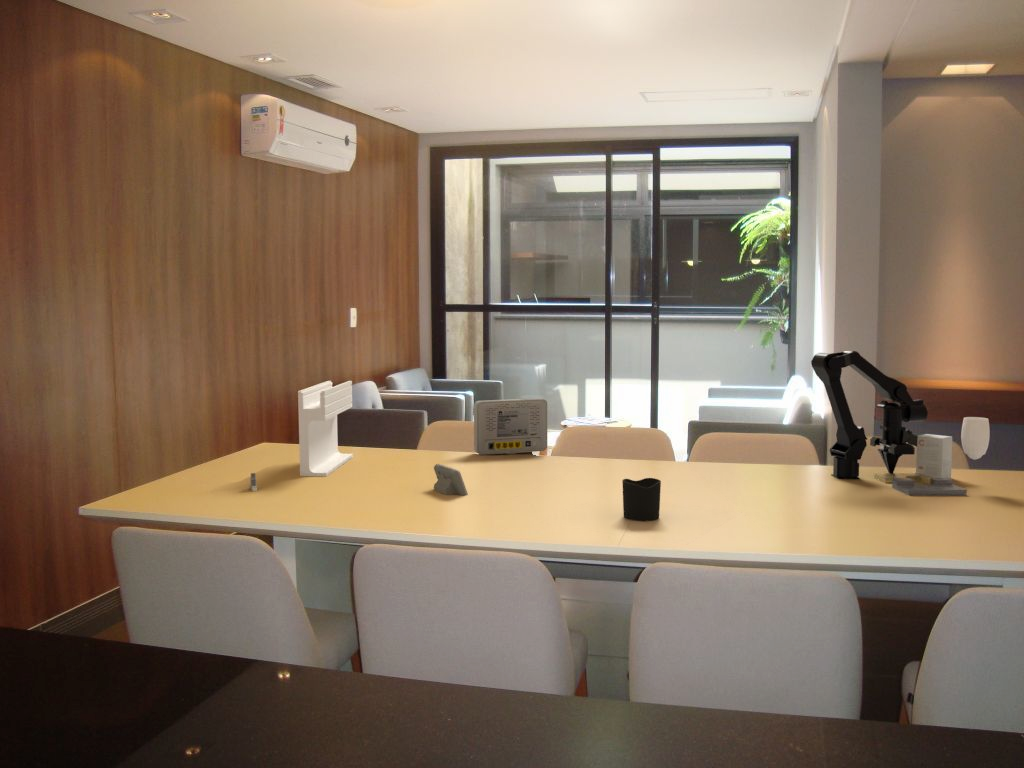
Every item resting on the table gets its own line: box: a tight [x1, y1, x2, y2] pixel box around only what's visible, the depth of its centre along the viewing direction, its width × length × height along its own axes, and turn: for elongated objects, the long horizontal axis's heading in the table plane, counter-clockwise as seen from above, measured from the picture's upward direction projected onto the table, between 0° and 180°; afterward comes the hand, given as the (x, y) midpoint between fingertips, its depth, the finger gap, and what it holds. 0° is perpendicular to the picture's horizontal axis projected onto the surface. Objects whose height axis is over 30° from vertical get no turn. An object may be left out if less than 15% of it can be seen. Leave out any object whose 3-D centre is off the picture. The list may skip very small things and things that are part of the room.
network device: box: [473, 397, 548, 456], centre depth 329 cm, size 26×9×20 cm, turn 108°
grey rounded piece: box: [960, 416, 991, 460], centre depth 268 cm, size 7×7×21 cm
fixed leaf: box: [891, 478, 968, 497], centre depth 266 cm, size 16×11×3 cm
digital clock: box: [433, 463, 469, 496], centre depth 262 cm, size 14×8×9 cm, turn 19°
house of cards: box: [242, 472, 258, 492], centre depth 263 cm, size 9×9×8 cm
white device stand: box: [297, 380, 354, 477], centre depth 300 cm, size 35×8×28 cm, turn 176°
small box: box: [915, 433, 953, 479], centre depth 287 cm, size 8×6×13 cm
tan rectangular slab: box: [873, 472, 932, 485], centre depth 281 cm, size 14×11×3 cm
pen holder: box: [622, 477, 662, 522], centre depth 235 cm, size 9×9×10 cm
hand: (890, 473), depth 291 cm, fingers closed
